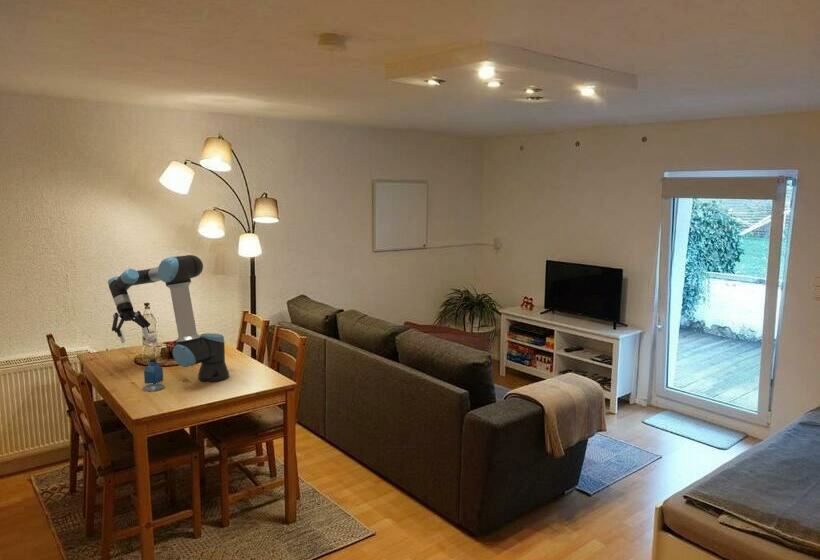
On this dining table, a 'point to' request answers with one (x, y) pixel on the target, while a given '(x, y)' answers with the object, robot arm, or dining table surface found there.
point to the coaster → (153, 387)
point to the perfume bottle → (153, 372)
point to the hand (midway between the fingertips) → (136, 340)
